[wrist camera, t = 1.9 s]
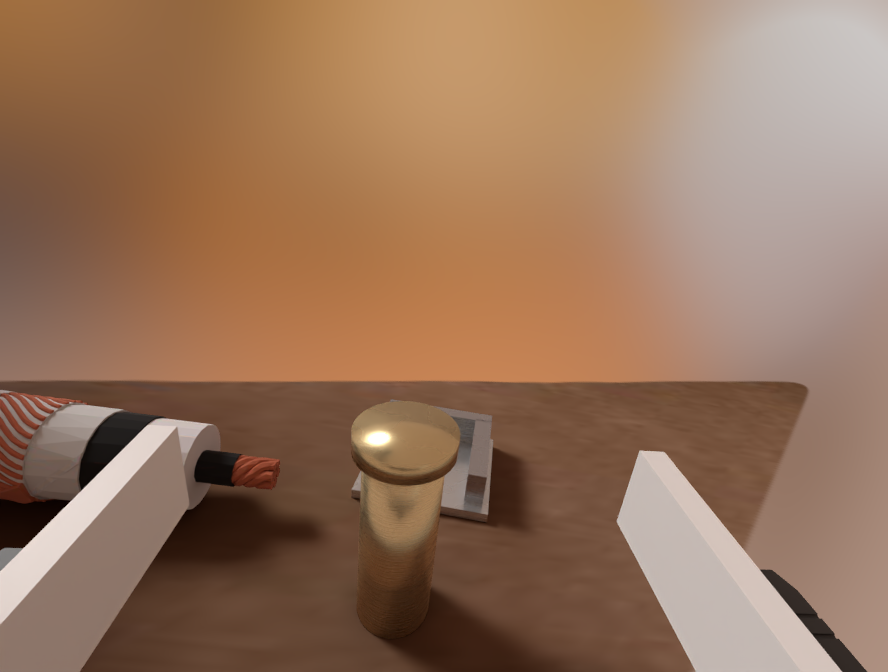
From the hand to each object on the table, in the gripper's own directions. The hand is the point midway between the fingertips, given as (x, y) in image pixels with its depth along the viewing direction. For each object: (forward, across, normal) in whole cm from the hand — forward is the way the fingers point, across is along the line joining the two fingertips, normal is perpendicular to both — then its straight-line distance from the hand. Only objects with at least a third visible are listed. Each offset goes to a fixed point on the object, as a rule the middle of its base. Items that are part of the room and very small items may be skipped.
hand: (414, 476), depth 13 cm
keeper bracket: (+22, +2, -18) cm, 28 cm away
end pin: (+9, 0, -18) cm, 20 cm away
